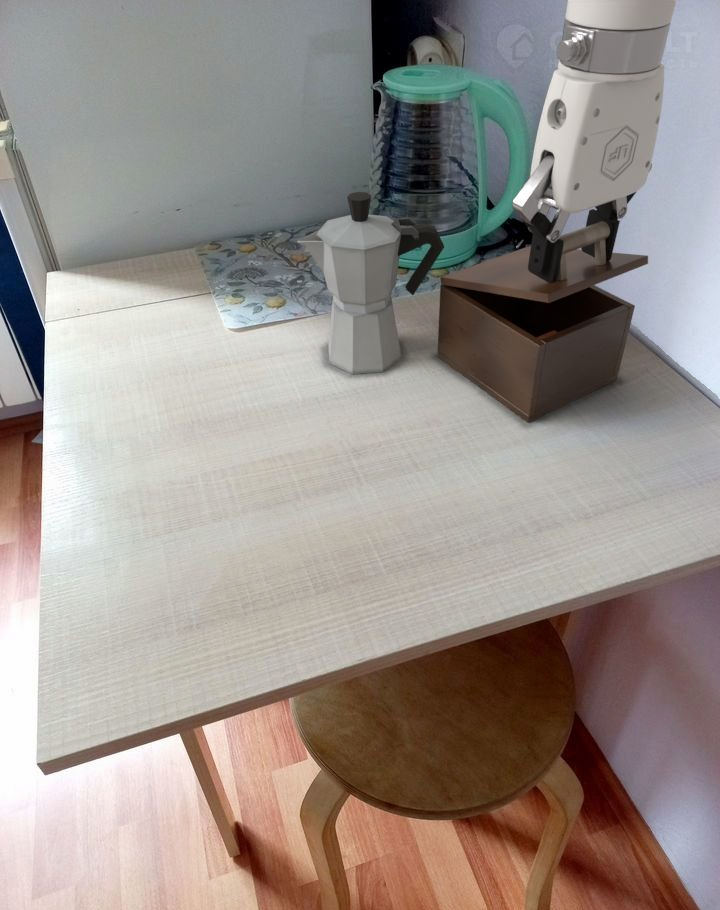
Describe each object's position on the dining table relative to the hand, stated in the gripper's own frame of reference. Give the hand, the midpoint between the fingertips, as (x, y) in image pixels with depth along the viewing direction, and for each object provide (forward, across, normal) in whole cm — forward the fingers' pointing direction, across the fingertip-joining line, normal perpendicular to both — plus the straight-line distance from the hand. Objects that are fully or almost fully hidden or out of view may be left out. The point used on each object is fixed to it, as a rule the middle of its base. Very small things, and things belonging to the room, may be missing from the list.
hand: (569, 264), depth 65 cm
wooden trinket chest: (+14, 0, +3) cm, 14 cm away
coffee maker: (+14, -12, +16) cm, 24 cm away
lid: (+3, 0, +3) cm, 4 cm away
